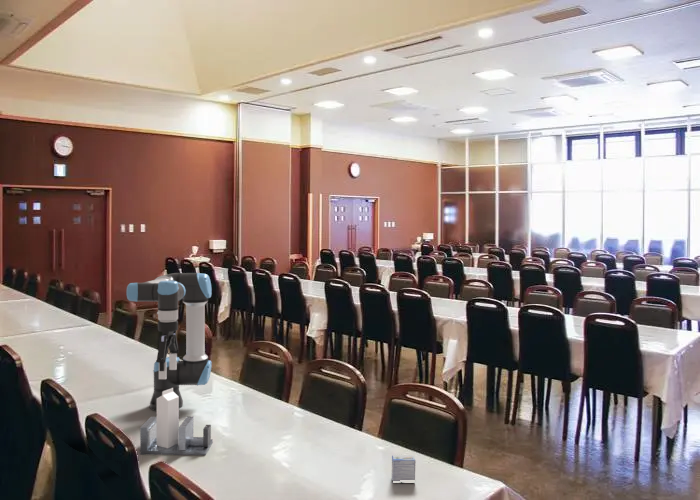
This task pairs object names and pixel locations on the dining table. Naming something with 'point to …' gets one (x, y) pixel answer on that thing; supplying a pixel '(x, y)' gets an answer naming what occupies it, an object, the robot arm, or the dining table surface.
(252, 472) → the dining table surface
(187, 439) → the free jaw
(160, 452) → the vise base
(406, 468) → the medicine box
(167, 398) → the milk
